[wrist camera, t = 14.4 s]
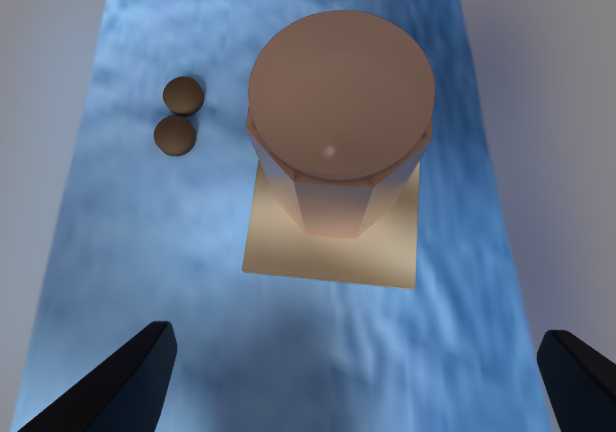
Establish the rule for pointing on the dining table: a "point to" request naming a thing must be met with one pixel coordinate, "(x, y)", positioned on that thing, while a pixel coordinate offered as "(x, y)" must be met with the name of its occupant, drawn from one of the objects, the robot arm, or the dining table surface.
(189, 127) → the ball
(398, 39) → the salmon domed prism
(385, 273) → the birch board
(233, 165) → the dining table surface
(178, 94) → the ball
